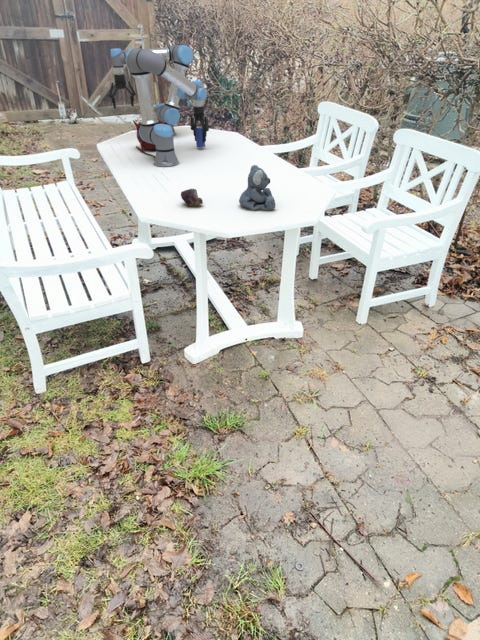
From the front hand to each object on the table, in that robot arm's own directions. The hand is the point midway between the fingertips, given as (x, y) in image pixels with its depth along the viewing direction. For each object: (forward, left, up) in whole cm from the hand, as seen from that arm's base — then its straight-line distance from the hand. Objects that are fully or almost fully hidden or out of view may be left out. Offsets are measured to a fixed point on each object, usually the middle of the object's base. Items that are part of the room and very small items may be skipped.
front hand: (200, 141), depth 322 cm
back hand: (-55, -24, +20) cm, 63 cm away
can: (0, 0, -4) cm, 4 cm away
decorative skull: (-27, -21, -6) cm, 35 cm away
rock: (+80, -82, -6) cm, 115 cm away
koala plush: (+106, -61, -6) cm, 122 cm away
